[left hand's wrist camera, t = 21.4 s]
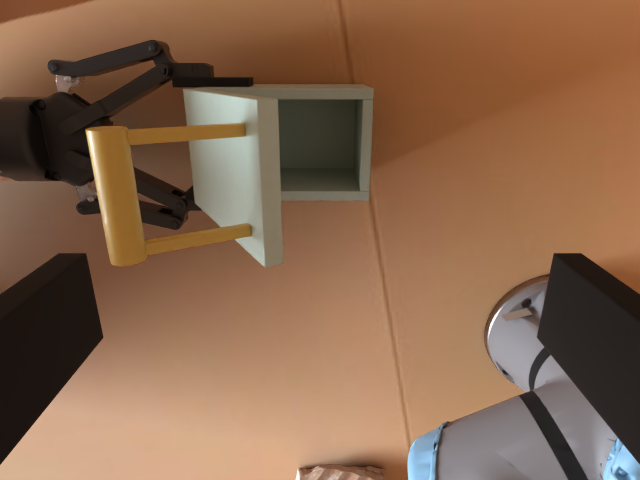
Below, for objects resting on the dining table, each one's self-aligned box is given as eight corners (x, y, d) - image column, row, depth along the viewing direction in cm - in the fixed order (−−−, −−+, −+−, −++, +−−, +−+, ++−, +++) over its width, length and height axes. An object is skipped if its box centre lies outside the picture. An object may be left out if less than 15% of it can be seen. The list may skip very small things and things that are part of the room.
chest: (363, 84, 45) (374, 88, 35) (360, 174, 48) (369, 200, 39) (221, 84, 45) (192, 88, 36) (228, 174, 49) (203, 200, 39)
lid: (278, 98, 23) (83, 105, 19) (283, 264, 26) (119, 300, 22) (198, 88, 35) (69, 90, 31) (208, 201, 39) (94, 217, 34)
